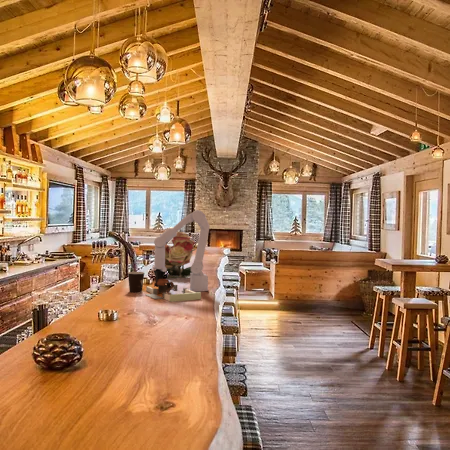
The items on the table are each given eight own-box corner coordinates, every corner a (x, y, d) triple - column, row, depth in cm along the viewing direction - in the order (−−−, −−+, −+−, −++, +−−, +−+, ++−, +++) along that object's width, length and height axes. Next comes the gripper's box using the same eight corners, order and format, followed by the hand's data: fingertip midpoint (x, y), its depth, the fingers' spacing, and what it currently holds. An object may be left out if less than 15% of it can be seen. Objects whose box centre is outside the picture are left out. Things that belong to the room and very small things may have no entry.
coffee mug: (135, 293, 230) (135, 274, 229) (124, 291, 235) (124, 272, 234) (151, 290, 239) (152, 272, 238) (140, 288, 244) (141, 270, 244)
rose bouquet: (151, 273, 305) (152, 230, 304) (193, 273, 314) (194, 230, 313) (157, 279, 281) (159, 231, 280) (202, 278, 289) (203, 232, 289)
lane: (178, 288, 248) (178, 282, 248) (205, 298, 222) (205, 292, 221) (137, 291, 236) (137, 285, 236) (161, 302, 209) (161, 295, 209)
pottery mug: (149, 294, 232) (150, 279, 236) (159, 299, 240) (159, 285, 244) (170, 290, 228) (170, 275, 232) (178, 295, 236) (179, 281, 240)
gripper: (147, 257, 248) (147, 281, 248) (158, 260, 235) (157, 285, 236) (159, 257, 251) (159, 280, 252) (170, 259, 239) (169, 284, 239)
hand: (159, 283), depth 244 cm, fingers closed
